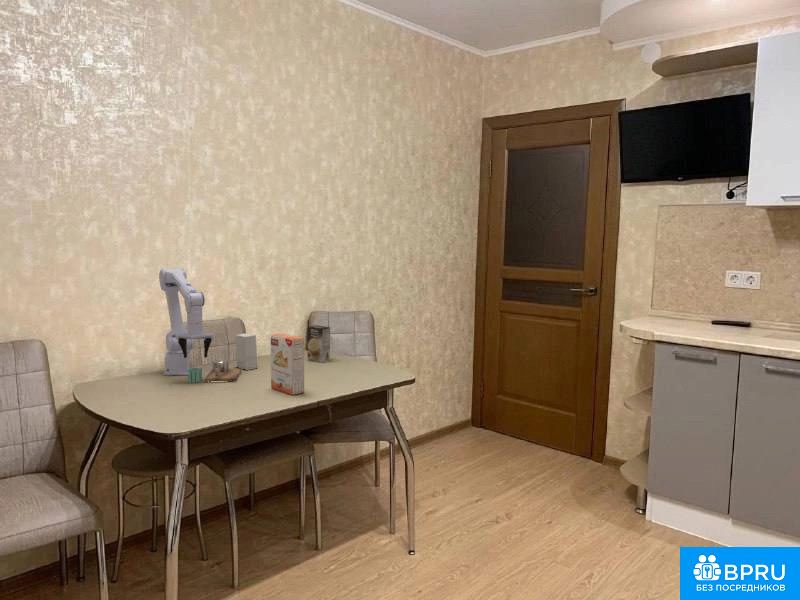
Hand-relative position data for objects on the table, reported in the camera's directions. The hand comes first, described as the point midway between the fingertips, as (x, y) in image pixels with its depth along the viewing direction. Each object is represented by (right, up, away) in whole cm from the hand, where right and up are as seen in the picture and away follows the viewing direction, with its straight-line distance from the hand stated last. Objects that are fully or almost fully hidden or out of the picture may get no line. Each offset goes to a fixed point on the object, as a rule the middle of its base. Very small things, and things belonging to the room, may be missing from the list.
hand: (195, 357), depth 247 cm
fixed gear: (+6, -7, +14) cm, 16 cm away
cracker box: (+38, -12, -11) cm, 42 cm away
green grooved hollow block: (-1, -10, +1) cm, 10 cm away
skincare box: (+14, -7, +27) cm, 31 cm away
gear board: (+9, -9, +9) cm, 15 cm away
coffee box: (+43, -6, +45) cm, 62 cm away
